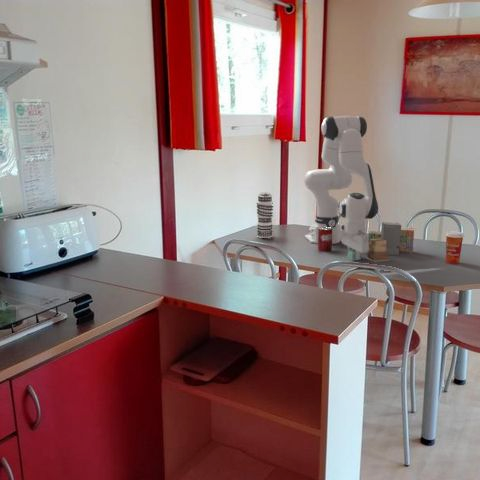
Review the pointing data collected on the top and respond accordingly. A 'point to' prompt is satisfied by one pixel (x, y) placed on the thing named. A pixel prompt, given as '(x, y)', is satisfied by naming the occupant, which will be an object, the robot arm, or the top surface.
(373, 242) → the oak cube
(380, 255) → the walnut block
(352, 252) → the teal cube
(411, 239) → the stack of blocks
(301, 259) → the top surface
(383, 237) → the skincare box
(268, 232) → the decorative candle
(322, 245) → the soda can
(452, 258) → the paper cup
